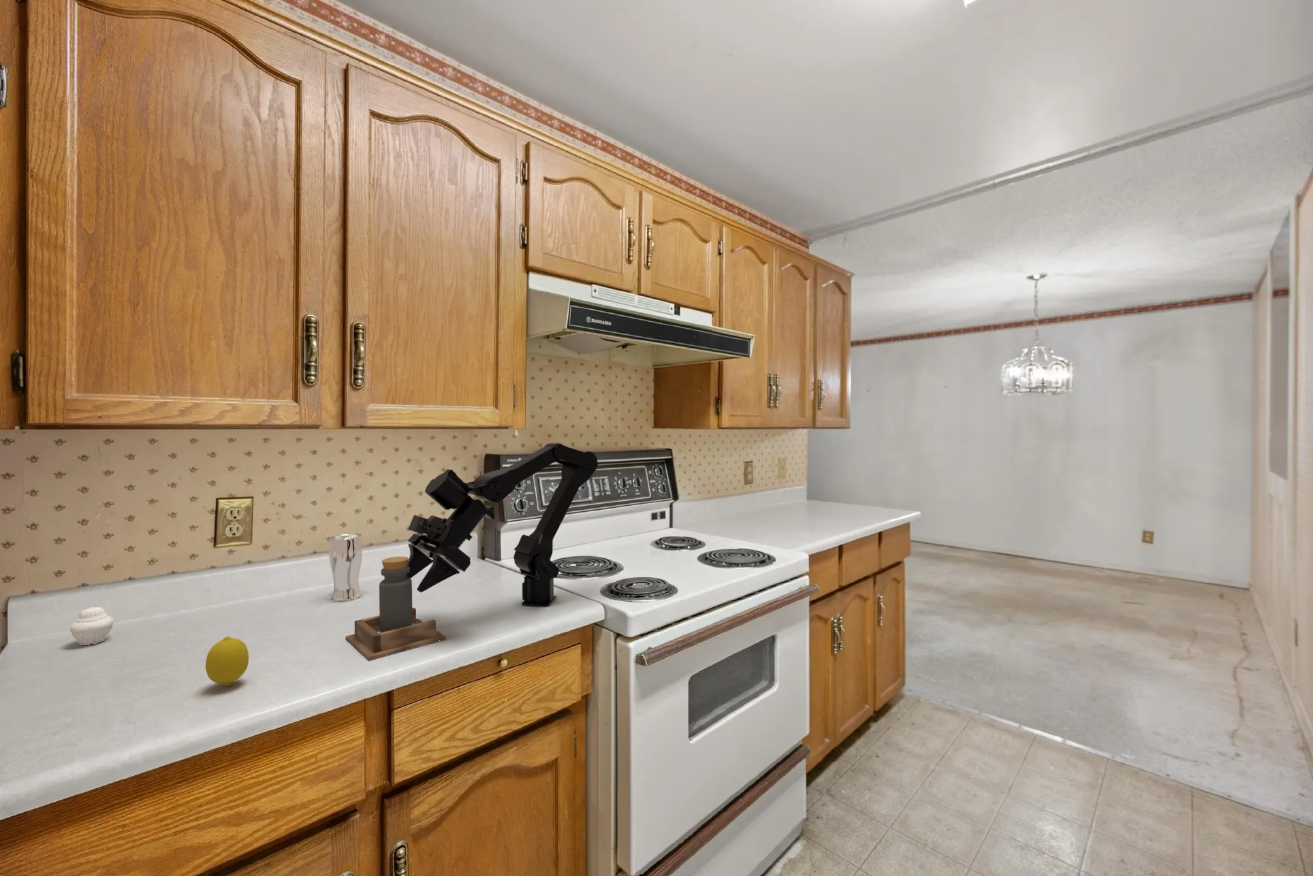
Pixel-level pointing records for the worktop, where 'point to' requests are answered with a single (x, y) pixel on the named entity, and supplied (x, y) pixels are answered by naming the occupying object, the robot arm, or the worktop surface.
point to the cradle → (392, 636)
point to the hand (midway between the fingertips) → (409, 586)
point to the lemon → (227, 661)
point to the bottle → (395, 594)
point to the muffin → (91, 626)
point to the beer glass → (345, 565)
